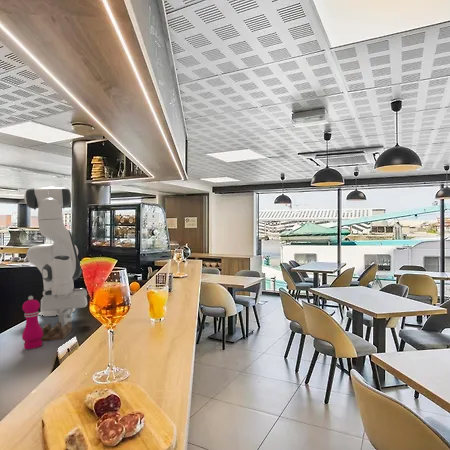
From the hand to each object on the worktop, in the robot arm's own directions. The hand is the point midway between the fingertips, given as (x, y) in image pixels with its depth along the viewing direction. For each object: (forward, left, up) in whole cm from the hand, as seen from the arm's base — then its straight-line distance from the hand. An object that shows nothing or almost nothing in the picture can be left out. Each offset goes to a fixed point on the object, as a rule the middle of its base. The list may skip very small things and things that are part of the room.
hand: (65, 318), depth 164 cm
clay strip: (0, 0, -3) cm, 3 cm away
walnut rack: (+16, -2, -3) cm, 16 cm away
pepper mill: (+29, -4, -4) cm, 29 cm away
